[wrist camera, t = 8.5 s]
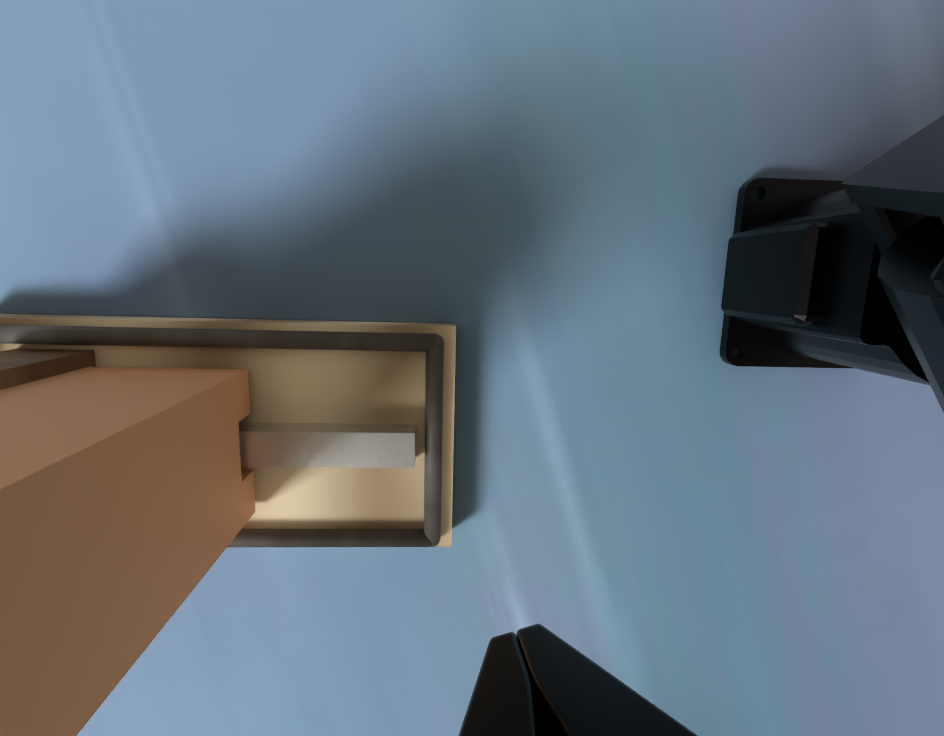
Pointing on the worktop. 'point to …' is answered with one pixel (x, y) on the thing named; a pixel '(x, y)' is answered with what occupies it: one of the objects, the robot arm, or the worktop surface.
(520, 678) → the robot arm
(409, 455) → the rail
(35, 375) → the stop block
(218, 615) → the worktop surface
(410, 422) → the board
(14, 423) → the orange rectangular block
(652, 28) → the worktop surface
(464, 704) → the worktop surface
